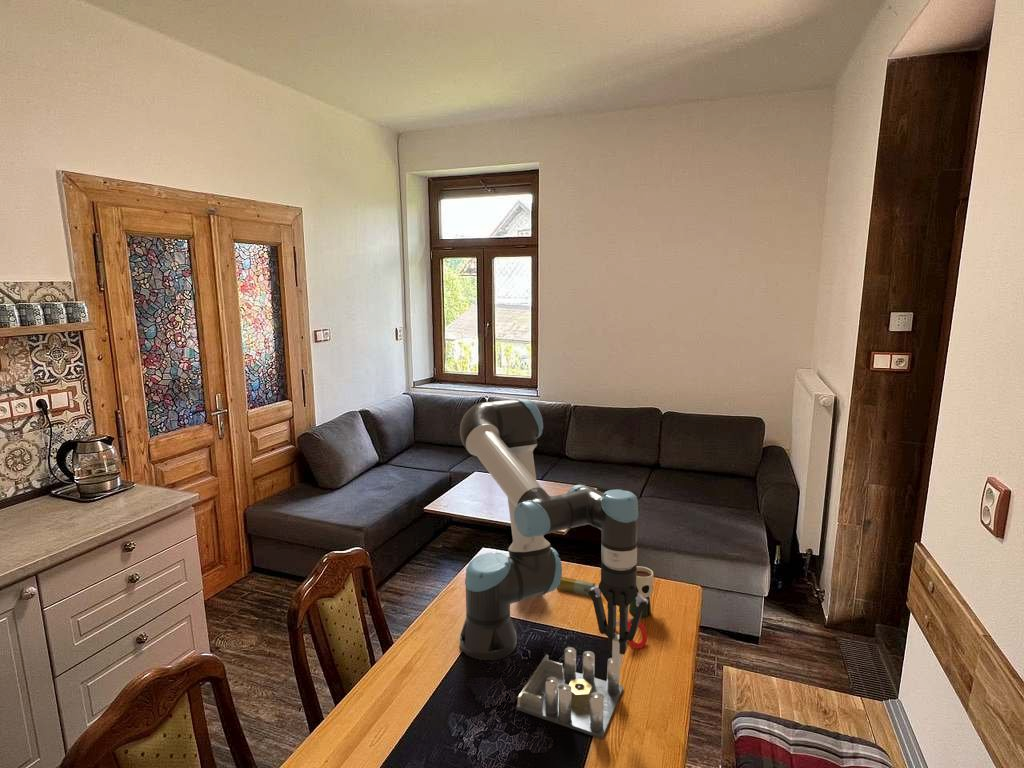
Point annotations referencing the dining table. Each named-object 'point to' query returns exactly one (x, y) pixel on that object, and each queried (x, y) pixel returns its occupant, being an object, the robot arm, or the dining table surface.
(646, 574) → the character mug
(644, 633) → the tow hook
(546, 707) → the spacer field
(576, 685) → the nut
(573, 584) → the medication box
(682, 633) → the dining table surface
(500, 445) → the robot arm
